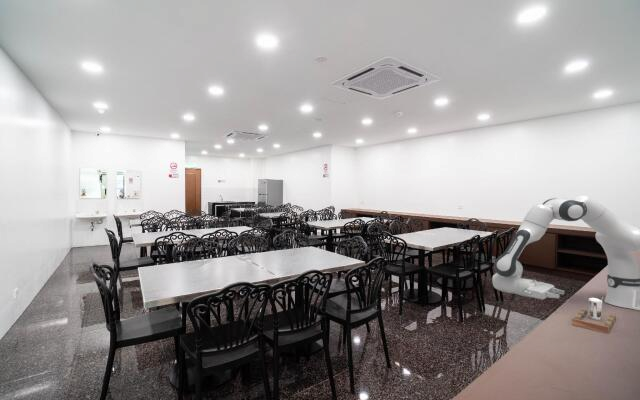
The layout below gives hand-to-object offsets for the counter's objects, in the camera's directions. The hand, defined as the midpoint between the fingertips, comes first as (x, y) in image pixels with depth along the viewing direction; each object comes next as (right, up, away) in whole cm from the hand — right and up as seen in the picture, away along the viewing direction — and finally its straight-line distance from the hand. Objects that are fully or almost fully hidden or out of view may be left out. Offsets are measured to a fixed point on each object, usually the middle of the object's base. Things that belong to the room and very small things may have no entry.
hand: (561, 294), depth 144 cm
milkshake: (+8, -8, -9) cm, 15 cm away
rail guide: (+4, -8, -13) cm, 16 cm away
